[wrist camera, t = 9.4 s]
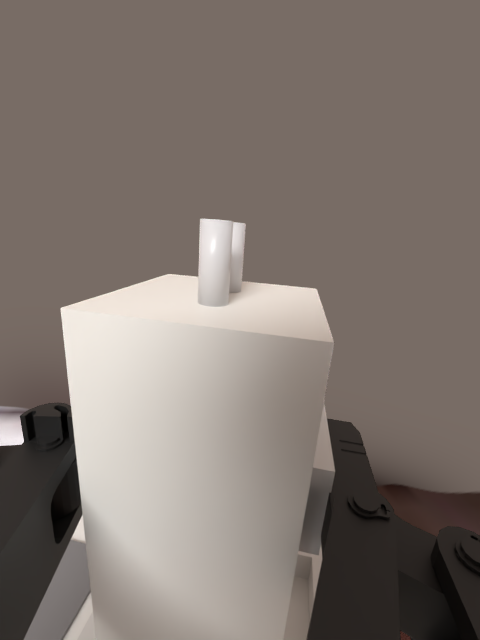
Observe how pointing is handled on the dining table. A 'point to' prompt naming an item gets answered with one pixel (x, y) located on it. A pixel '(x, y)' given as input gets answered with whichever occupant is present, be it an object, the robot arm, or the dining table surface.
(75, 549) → the white base tray
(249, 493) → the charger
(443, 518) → the dining table surface
